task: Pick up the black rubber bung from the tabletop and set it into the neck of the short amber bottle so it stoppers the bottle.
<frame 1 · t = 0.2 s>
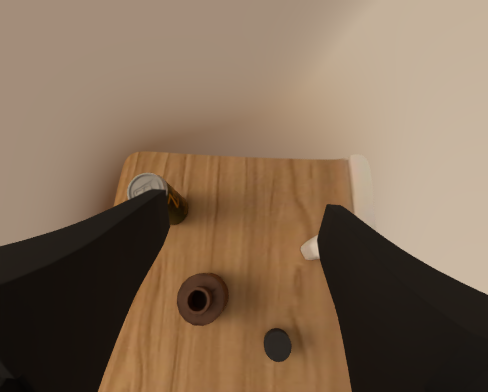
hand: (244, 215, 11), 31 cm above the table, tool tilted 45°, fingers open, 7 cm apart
eye dropper bottle: (316, 247, 40), on the table
beer can: (175, 211, 43), on the table
bung: (276, 340, 36), on the table
amber bottle: (207, 295, 39), on the table
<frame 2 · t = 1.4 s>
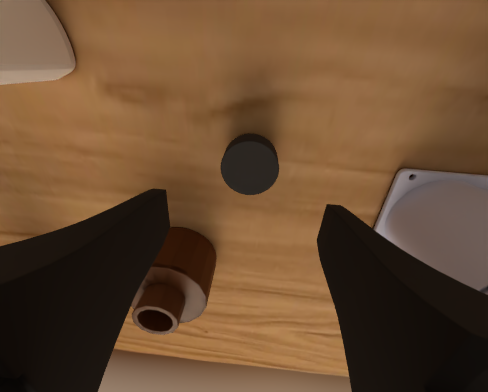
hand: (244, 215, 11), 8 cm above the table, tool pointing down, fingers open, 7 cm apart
eye dropper bottle: (41, 30, 15), on the table
bung: (251, 154, 18), on the table
amber bottle: (182, 254, 24), on the table
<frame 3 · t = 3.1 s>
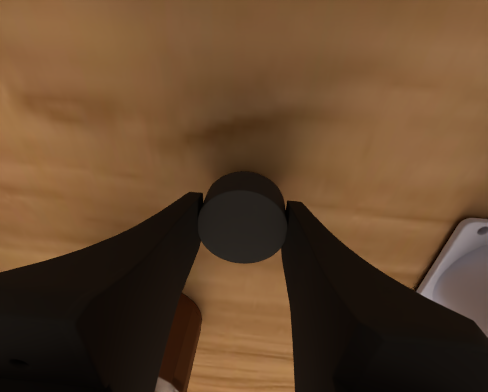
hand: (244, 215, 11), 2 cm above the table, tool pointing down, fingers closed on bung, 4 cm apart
bung: (245, 195, 12), on the table, touching gripper
amber bottle: (157, 314, 18), on the table
when the fingers open (8 cm above the table, at t = 6.9 s): bung stays where it is, resting on amber bottle.
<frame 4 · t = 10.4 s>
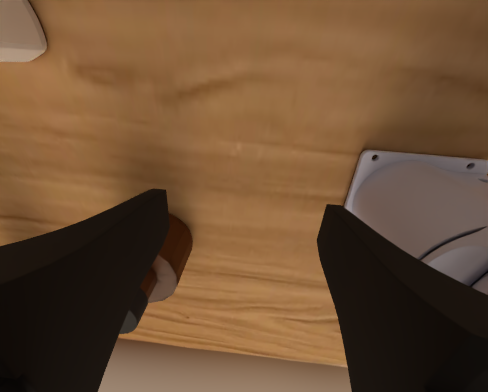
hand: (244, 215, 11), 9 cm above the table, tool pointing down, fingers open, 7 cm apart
eye dropper bottle: (13, 13, 16), on the table
bung: (131, 283, 19), point 6 cm above the table, touching amber bottle
amber bottle: (159, 237, 24), on the table, touching bung
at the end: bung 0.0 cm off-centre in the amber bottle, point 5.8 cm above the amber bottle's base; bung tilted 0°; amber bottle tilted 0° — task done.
